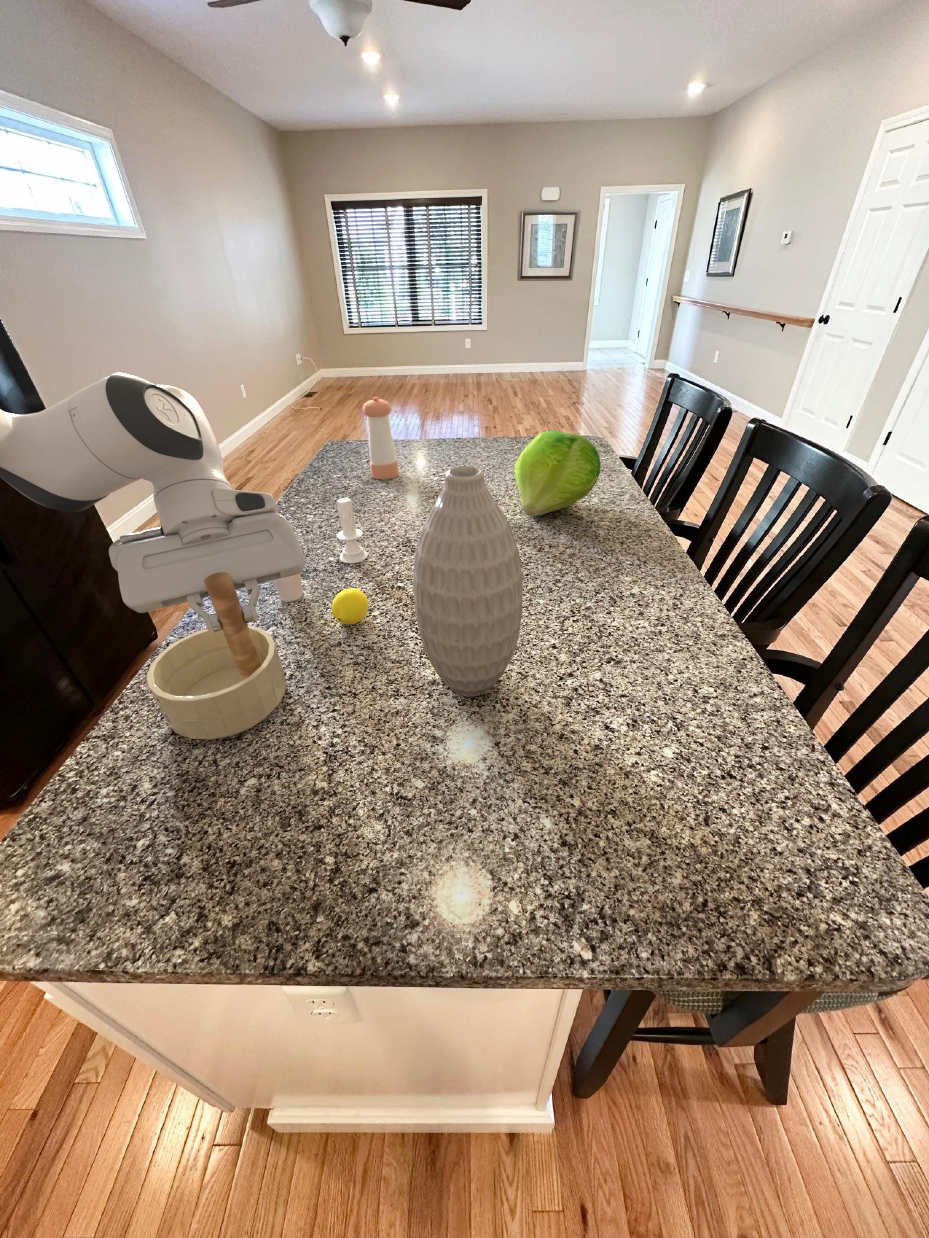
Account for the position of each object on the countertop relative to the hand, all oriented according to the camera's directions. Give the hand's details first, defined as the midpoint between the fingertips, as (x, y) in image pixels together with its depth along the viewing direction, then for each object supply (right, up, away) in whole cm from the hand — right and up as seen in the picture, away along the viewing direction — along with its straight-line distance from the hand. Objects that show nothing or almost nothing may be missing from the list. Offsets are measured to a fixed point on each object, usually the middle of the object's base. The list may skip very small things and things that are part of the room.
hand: (234, 625), depth 61 cm
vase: (+28, -8, +7) cm, 30 cm away
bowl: (-3, -10, +5) cm, 12 cm away
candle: (+6, +12, +37) cm, 39 cm away
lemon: (+10, 0, +19) cm, 22 cm away
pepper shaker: (+6, +39, +74) cm, 84 cm away
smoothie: (-2, +5, +26) cm, 27 cm away
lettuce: (+47, +26, +54) cm, 76 cm away
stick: (0, -6, +5) cm, 8 cm away
